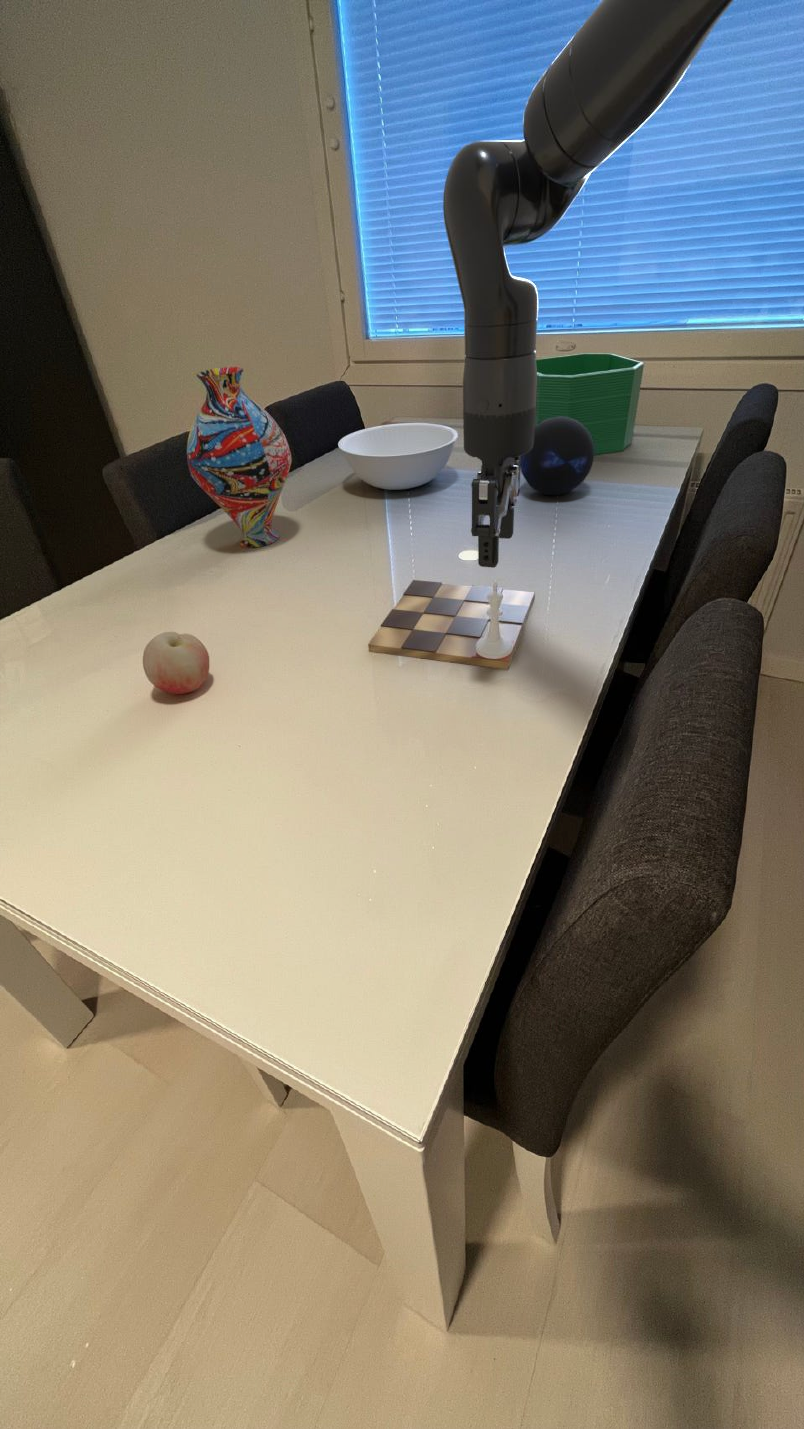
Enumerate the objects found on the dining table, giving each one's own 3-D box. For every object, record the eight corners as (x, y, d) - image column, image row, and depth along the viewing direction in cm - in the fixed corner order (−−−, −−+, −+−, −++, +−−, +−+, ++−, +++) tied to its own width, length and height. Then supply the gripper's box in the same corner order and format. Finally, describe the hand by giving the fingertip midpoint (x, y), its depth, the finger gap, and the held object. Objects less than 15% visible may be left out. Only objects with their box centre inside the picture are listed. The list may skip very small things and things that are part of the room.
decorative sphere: (508, 487, 135) (511, 414, 126) (572, 478, 137) (579, 405, 127) (532, 509, 123) (537, 431, 114) (601, 499, 125) (612, 421, 116)
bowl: (321, 496, 140) (314, 451, 133) (381, 461, 157) (377, 420, 151) (425, 509, 128) (422, 460, 122) (477, 470, 146) (477, 426, 140)
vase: (270, 515, 132) (237, 358, 114) (323, 534, 121) (296, 364, 103) (194, 543, 123) (144, 378, 104) (244, 567, 111) (198, 386, 93)
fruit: (200, 706, 78) (182, 654, 73) (145, 703, 80) (123, 652, 75) (224, 671, 85) (209, 621, 80) (172, 669, 86) (154, 620, 81)
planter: (642, 448, 150) (656, 365, 138) (543, 462, 147) (549, 379, 135) (594, 424, 170) (603, 350, 158) (506, 437, 167) (509, 362, 155)
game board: (534, 599, 94) (535, 590, 93) (507, 669, 80) (508, 661, 79) (413, 587, 100) (413, 579, 99) (368, 651, 86) (367, 643, 85)
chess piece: (514, 640, 83) (517, 573, 76) (510, 660, 79) (513, 591, 73) (478, 638, 84) (478, 571, 77) (472, 657, 80) (472, 589, 74)
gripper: (522, 420, 56) (515, 579, 66) (546, 388, 67) (538, 530, 77) (445, 420, 59) (450, 574, 69) (480, 389, 69) (480, 527, 79)
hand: (496, 550), depth 73 cm, fingers open, 8 cm apart
